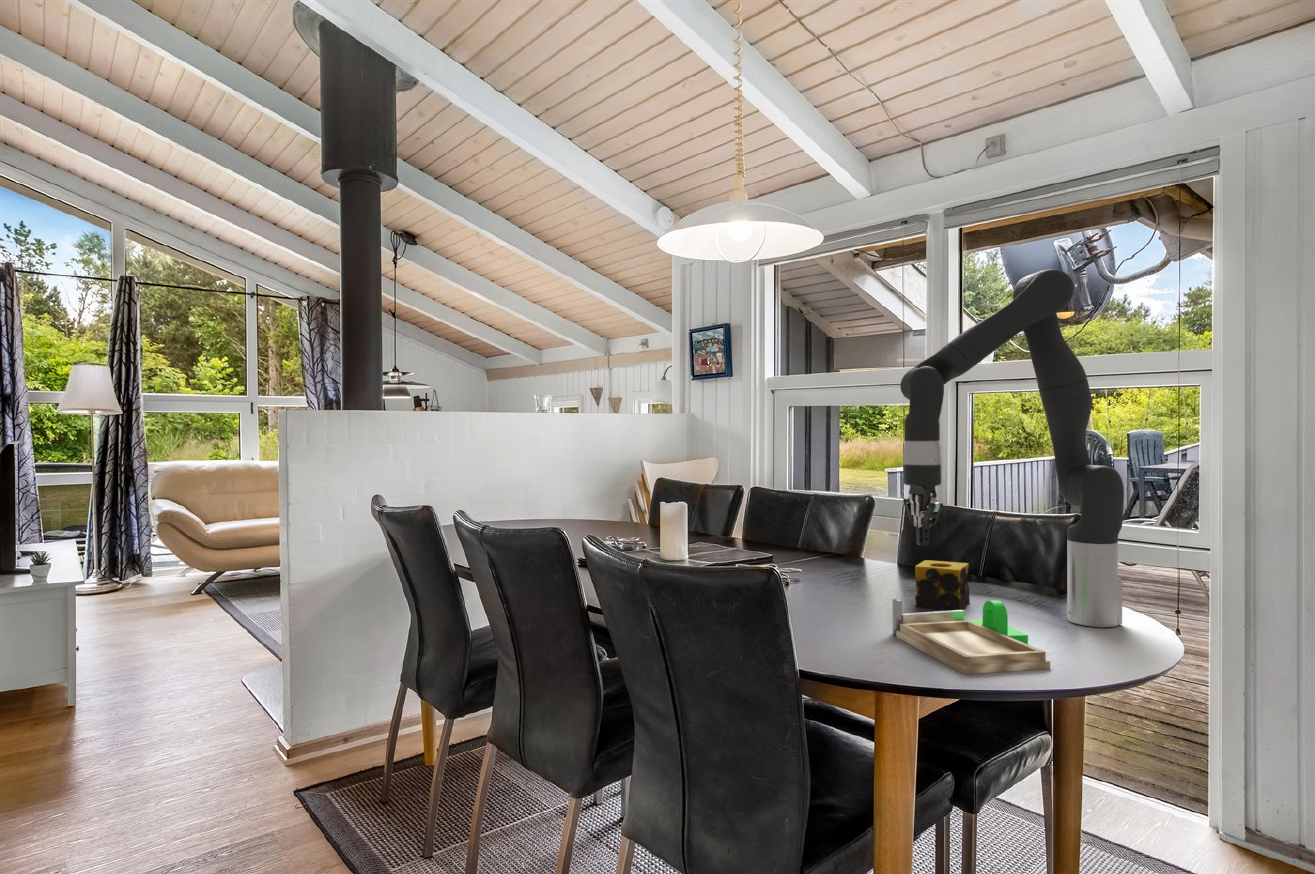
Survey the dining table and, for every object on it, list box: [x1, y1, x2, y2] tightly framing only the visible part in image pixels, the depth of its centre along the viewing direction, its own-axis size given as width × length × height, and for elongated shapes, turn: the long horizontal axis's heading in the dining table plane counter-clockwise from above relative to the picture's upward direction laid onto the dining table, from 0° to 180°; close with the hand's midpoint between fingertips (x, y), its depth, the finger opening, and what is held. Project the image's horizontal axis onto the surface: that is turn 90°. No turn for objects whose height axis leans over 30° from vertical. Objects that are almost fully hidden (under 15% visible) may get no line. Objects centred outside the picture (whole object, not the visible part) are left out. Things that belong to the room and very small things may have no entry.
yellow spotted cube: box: [914, 559, 971, 611], centre depth 172 cm, size 10×10×10 cm
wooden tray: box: [895, 619, 1051, 675], centre depth 136 cm, size 16×23×3 cm
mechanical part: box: [969, 600, 1029, 645], centre depth 147 cm, size 12×6×8 cm, turn 4°
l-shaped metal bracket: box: [892, 598, 966, 637], centre depth 150 cm, size 16×2×7 cm, turn 104°
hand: (922, 544), depth 156 cm, fingers closed
